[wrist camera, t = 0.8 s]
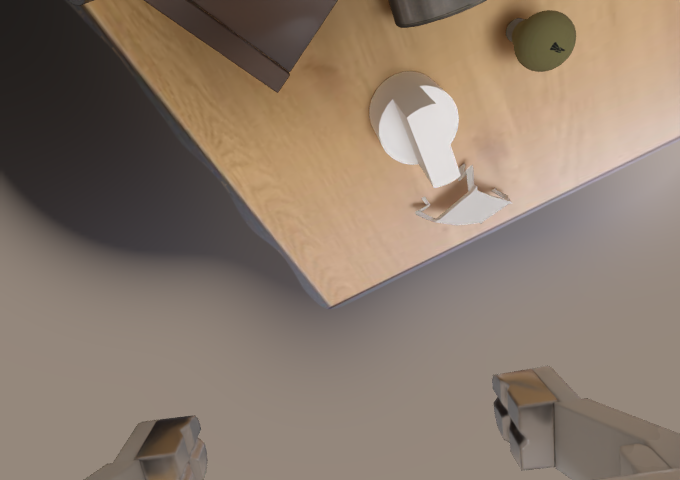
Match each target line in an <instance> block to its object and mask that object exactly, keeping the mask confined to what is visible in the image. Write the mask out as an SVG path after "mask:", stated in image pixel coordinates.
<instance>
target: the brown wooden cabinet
mask: <svg viewBox="0 0 680 480" xmlns="http://www.w3.org/2000/svg"><path fill="white" fill-rule="evenodd" d="M144 1H145V2H147V3H148V4H150V5H151V6H153V7H154V8H156V9H157V10H158V11H160V12H161V13H163V14H164V15H166V16H167V17H169V18H170V19H171V20H173V21H174V22H176V23H177V24H179V25H180V26H182V27H183V28H184V29H186V30H187V31H189V32H190V33H192V34H193V35H195V36H196V37H197V38H199V39H200V40H202V41H203V42H205V43H206V44H208V45H209V46H210V47H212V48H213V49H215V50H216V51H218V52H219V53H221V54H222V55H223V56H225V57H226V58H228V59H229V60H231V61H232V62H234V63H235V64H236V65H238V66H239V67H241V68H242V69H244V70H245V71H247V72H248V73H249V74H251V75H252V76H254V77H255V78H257V79H258V80H260V81H261V82H262V83H264V84H265V85H267V86H268V87H270V88H271V89H273V90H274V91H275V92H277V93H278V92H279V91H280V89H281V88H282V86H283V85H284V83H285V82H286V80H287V79H288V77H289V76H290V74H289V72H290V71H291V70H292V68H293V67H294V65H295V64H296V62H297V61H298V59H299V58H300V56H301V55H302V53H303V52H304V50H305V49H306V47H307V46H308V44H309V43H310V41H311V40H312V38H313V37H314V35H315V34H316V32H317V31H318V29H319V28H320V26H321V25H322V23H323V22H324V20H325V19H326V17H327V16H328V14H329V13H330V11H331V10H332V8H333V7H334V5H335V4H336V2H337V1H338V0H191V1H192V2H191V1H190V0H144ZM194 3H195V4H196V5H195V4H194ZM198 6H199V7H198ZM201 8H202V9H203V10H202V9H201ZM205 11H206V12H207V13H206V12H205ZM209 14H210V15H209ZM212 16H213V17H214V18H213V17H212ZM216 19H217V20H218V21H217V20H216ZM219 21H220V22H221V23H220V22H219ZM223 24H224V25H225V26H224V25H223ZM227 27H228V28H227ZM230 29H231V30H232V31H231V30H230ZM234 32H235V33H236V34H235V33H234ZM238 35H239V36H238ZM241 37H242V38H243V39H242V38H241ZM245 40H246V41H247V42H246V41H245ZM249 43H250V44H249ZM252 45H253V46H254V47H253V46H252ZM256 48H257V49H256ZM259 50H260V51H261V52H260V51H259ZM263 53H264V54H265V55H264V54H263ZM267 56H268V57H267ZM270 58H271V59H272V60H271V59H270ZM274 61H275V62H276V63H275V62H274ZM278 64H279V65H278ZM281 66H282V67H283V68H282V67H281ZM285 69H286V70H287V71H286V70H285Z"/></svg>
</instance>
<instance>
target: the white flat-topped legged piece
mask: <svg viewBox="0 0 680 480" xmlns="http://www.w3.org/2000/svg"><path fill="white" fill-rule="evenodd" d="M464 169H465V164H463V165H462V166H460V167H459V172H460V175H461V176H460V177H459V178H458V180H459V181H460V180H461V179H463V178H464V177H465V176H466V175H467V183H468V192H467V193H466V194H465V195H464V196H463V197H461V198H460V199H459V200H458V201H457V202H456V203H454V204H453V205H452V206H451V207H450V208H448V209H447V210H446V211H445V212H444V213H442V214H441V215H440V216H439V217H438V218H436V219H435V218H433V217H431V216H429V215H427V214H425V213H423V212H422V211H424V210H425V209H426V208H428V207H429V206H430V203H429V202H428V200H427V199H426V198H425V197H423V198H422V200H423V201H424V203H425V204H426V206H425V207H423V208H421V209H420V210H418V211H416V212H415V213H416V215H418V216H420V217H422V218H425V219H427V220H430V221H433V222H436V223H443V224H451V225H466V224H474V223H481V224H482V222H483V221H485V220H486V219H488V218H489V217H491V216H492V215H493V214H495V213H496V212H498V211H499V210H501V209H502V208H504V207H505V206H507V205H508V204H511V203H512V202H511V201H510V198H509V197H508V195H506V194H503V193H501V192H499V191H497V190H496V188H494V189H493V190H491V191H492V192H494V193H495V194H497V195H499V196H500V197H502V198H500V197H495V196H491V195H488V194H485V193H482V192H480V191H478V190H477V186H476V185H474V170H473V165H471V166H470V167H469V168H468V169H467V170H466V171H465V172H464ZM503 198H504V199H503Z"/></svg>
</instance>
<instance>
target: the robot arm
mask: <svg viewBox="0 0 680 480" xmlns="http://www.w3.org/2000/svg"><path fill="white" fill-rule="evenodd" d="M492 383H493V390H494V392H495V393H496V395H497V396H498V397H497V399H496V400H495V402H494V412H495V418H496V422H497V426H498V429H499V431H500V433H501V435H502V437H503V439H504V440H506V441H508V442H509V443H510V451H511V453H512V455H513V457H514V459H515V460H516V462H517V464H518V466H519V467H520V469H521V470H531V469H540V468H550V467H556V469H557V470H559V471H561V472H562V473H563V474H565V475H566V476H568V477H569V478H570V479H572V480H680V434H679V433H676V432H674V431H671V430H669V429H666V428H663V427H661V426H658V425H656V424H653V423H650V422H648V421H645V420H642V419H640V418H637V417H635V416H632V415H629V414H627V413H624V412H622V411H619V410H616V409H614V408H611V407H608V406H606V405H603V404H600V403H598V402H595V401H593V400H590V399H588V398H584V399H581V398H580V397H579V396H578V395H577V394H576V393H575V392H574V391H573V390H572V389H571V388H570V387H569V386H568V384H567V383H566V382H565V381H564V380H563V379H562V378H561V377H560V376H559V375H558V374H557V373H556V372H555V371H554V369H553V368H551V367H550V366H543V367H537V368H532V369H527V370H521V371H514V372H509V373H502V374H496V375H493V379H492ZM200 430H201V427H200V423H199V420H198V418H197V417H196V416H185V417H177V418H169V419H160V420H152V421H145V422H141V423H139V424H138V425H137V426H136V428H135V429H134V431H133V432H132V434H131V435H130V437H129V438H128V440H127V442H126V443H125V445H124V446H123V448H122V449H121V451H120V453H119V454H118V456H117V457H116V459H115V460H114V462H113V463H110V464H106V465H105V466H103V467H102V468H100V469H99V470H97V471H96V472H94V473H93V474H91V475H90V476H89V477H87V478H86V479H84V480H204V477H205V474H206V469H207V451H206V447H205V443H204V442H203V441H202V440H201V439H199V438H198V435H199V433H200Z"/></svg>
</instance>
